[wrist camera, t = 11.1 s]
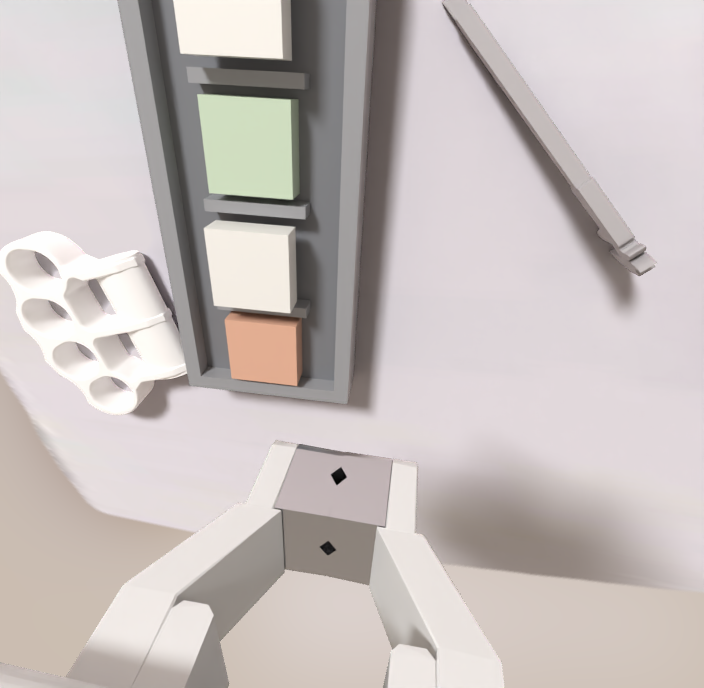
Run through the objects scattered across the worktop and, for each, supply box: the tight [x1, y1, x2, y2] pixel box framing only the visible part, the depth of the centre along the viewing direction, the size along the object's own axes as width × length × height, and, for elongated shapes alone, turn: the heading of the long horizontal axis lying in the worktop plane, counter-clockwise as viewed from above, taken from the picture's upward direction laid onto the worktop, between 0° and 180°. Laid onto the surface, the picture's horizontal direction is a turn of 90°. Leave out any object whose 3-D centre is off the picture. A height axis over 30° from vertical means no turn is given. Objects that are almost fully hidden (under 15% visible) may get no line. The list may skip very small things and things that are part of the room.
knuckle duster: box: [0, 231, 187, 415], centre depth 39 cm, size 3×18×15 cm
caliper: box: [442, 0, 657, 276], centre depth 26 cm, size 21×1×6 cm, turn 43°
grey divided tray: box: [117, 0, 377, 404], centre depth 31 cm, size 14×32×4 cm, turn 177°
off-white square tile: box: [204, 220, 297, 313], centre depth 30 cm, size 6×6×2 cm
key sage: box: [197, 94, 300, 200], centre depth 27 cm, size 6×6×2 cm
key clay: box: [225, 311, 302, 386], centre depth 35 cm, size 6×6×2 cm
